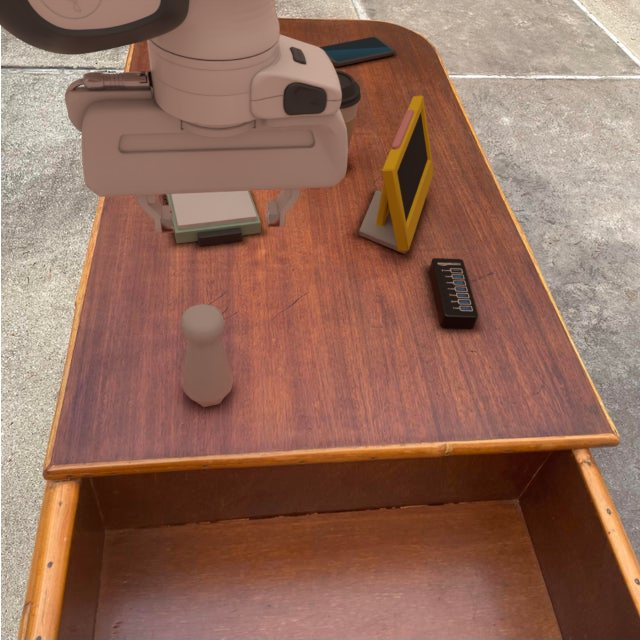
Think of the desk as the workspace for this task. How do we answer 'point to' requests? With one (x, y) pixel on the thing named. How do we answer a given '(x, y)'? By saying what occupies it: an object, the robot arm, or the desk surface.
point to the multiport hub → (452, 294)
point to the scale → (213, 217)
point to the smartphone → (357, 51)
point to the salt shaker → (205, 356)
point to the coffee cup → (349, 101)
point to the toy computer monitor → (402, 183)
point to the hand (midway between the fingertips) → (221, 225)
